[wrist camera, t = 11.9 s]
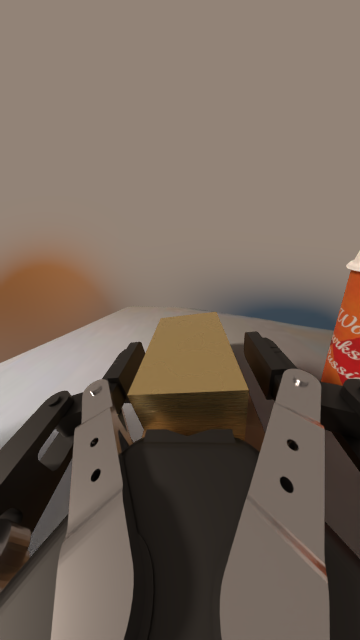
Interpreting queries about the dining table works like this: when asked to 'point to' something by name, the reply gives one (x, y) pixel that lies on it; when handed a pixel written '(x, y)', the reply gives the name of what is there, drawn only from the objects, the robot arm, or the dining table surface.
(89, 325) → the dining table surface
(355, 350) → the paper cup
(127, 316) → the dining table surface
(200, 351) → the tan boxy piece
